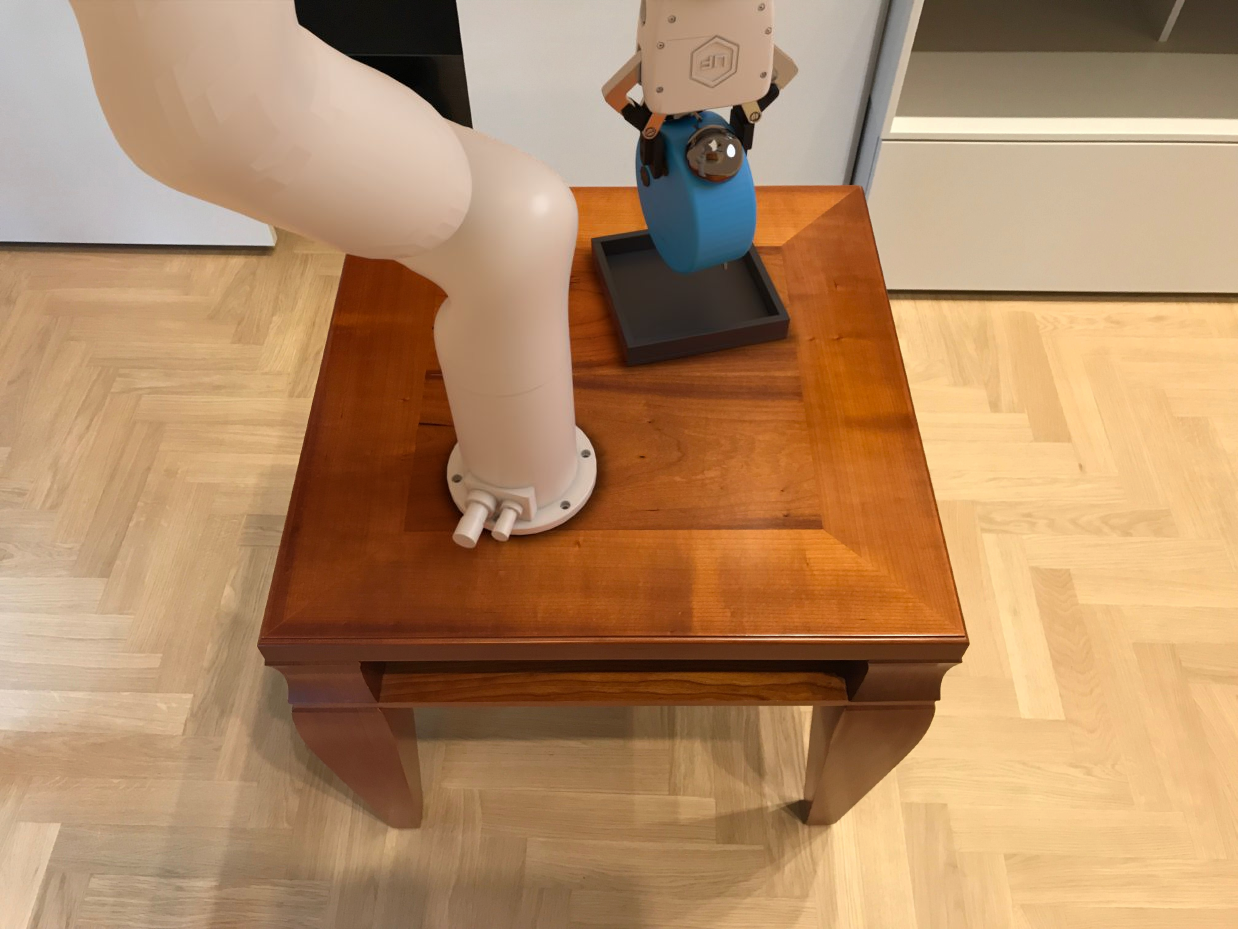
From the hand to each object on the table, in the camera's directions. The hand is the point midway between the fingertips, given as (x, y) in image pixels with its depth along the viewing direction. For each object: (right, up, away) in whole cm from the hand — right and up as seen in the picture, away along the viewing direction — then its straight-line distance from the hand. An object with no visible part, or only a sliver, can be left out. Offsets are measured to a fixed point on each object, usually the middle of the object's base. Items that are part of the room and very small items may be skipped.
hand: (695, 161), depth 81 cm
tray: (0, -9, +13) cm, 16 cm away
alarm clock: (0, -6, +8) cm, 10 cm away
